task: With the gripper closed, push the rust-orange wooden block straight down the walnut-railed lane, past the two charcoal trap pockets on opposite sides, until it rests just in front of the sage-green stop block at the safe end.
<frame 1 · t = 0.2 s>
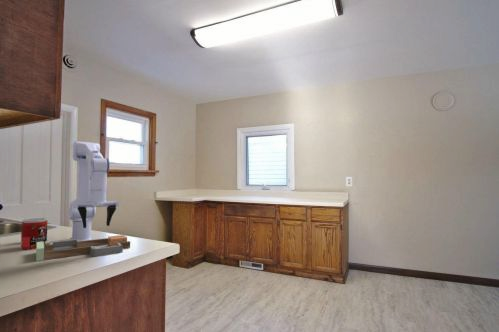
hand: (96, 226, 103), 10 cm above the worktop, tool pointing down, fingers open, 7 cm apart
battery: (36, 242, 119), on the worktop
track: (88, 249, 107), on the worktop
block: (117, 246, 113), on the worktop
canned food: (33, 247, 110), on the worktop
safe end: (39, 256, 98), on the worktop
traps: (88, 249, 107), on the worktop
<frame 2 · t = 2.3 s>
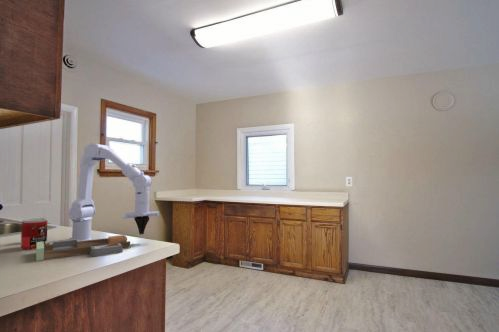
hand: (141, 233, 119), 4 cm above the worktop, tool pointing down, fingers closed
nothing on the worktop moved.
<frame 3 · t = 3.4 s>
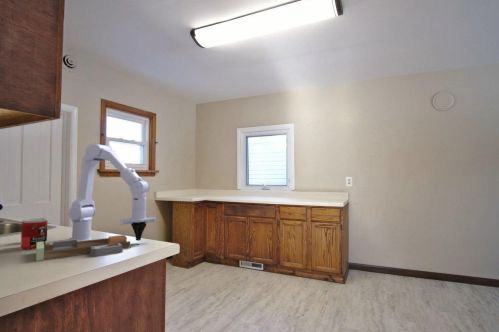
hand: (138, 240, 119), 1 cm above the worktop, tool pointing down, fingers closed
nothing on the worktop moved.
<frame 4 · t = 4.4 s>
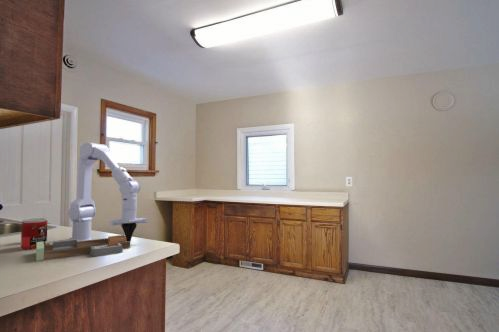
hand: (128, 241, 116), 1 cm above the worktop, tool pointing down, fingers closed
block: (116, 246, 113), on the worktop, touching gripper
everything else where it was.
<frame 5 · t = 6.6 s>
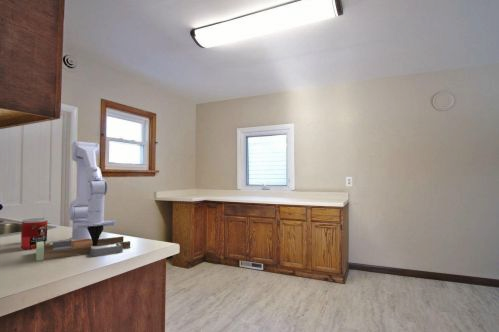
hand: (94, 245, 108), 1 cm above the worktop, tool pointing down, fingers closed
block: (81, 251, 105), on the worktop, touching gripper
everything else where it was.
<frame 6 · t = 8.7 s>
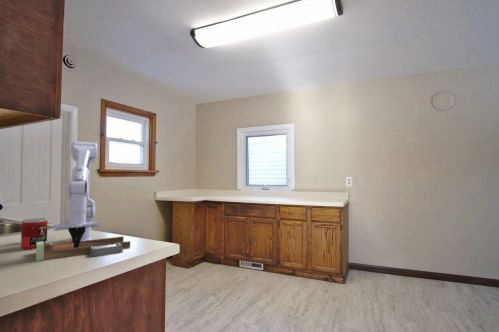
hand: (76, 247, 105), 1 cm above the worktop, tool pointing down, fingers closed
block: (62, 254, 101), on the worktop
everything else where it was.
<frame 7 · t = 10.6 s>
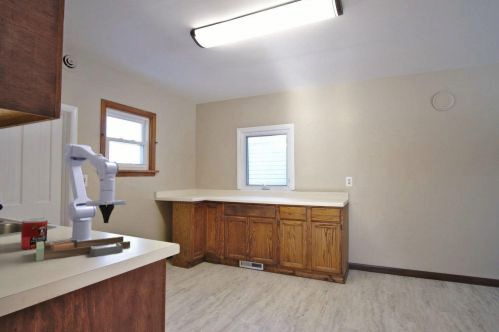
hand: (105, 222, 115), 9 cm above the worktop, tool pointing down, fingers closed
nothing on the worktop moved.
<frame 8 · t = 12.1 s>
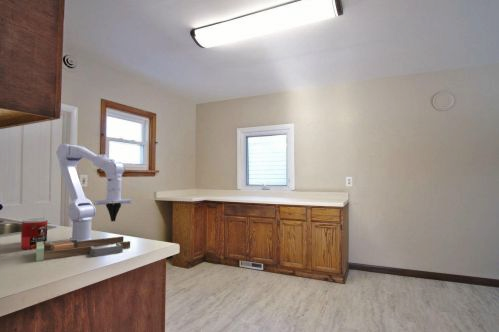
hand: (113, 221, 119), 9 cm above the worktop, tool pointing down, fingers closed
nothing on the worktop moved.
at the end: block inside the target area (1.0 cm from its centre), on the worktop; block tilted 0°; the gripper is holding nothing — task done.
